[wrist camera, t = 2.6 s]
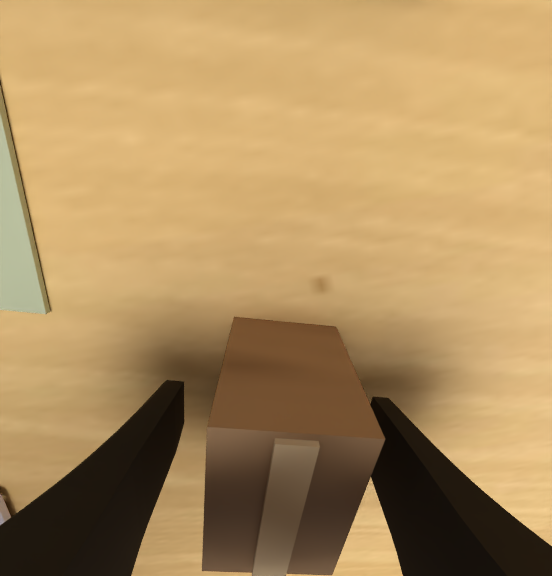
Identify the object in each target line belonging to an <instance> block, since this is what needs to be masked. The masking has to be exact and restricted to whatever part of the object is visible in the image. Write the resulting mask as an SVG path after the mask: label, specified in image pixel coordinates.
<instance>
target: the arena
mask: <svg viewBox="0 0 552 576" xmlns="http://www.w3.org/2000/svg"><path fill="white" fill-rule="evenodd" d="M0 310H8V311H18V312H29V313H40V314H47V313H49V312H50V308H49V304H48V299H47V295H46V290H45V286H44V281H43V277H42V272H41V268H40V263H39V258H38V254H37V249H36V245H35V240H34V236H33V231H32V227H31V222H30V218H29V213H28V209H27V204H26V200H25V195H24V191H23V186H22V182H21V177H20V173H19V168H18V164H17V159H16V154H15V150H14V145H13V141H12V136H11V132H10V127H9V123H8V118H7V114H6V109H5V105H4V100H3V96H2V91H1V87H0Z"/></svg>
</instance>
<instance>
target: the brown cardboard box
mask: <svg viewBox="0 0 552 576" xmlns="http://www.w3.org/2000/svg"><path fill="white" fill-rule="evenodd" d="M384 441H385V437H384V435H383V433H382V430H381V428H380V426H379V424H378V421H377V419H376V417H375V415H374V412H373V410H372V408H371V405H370V403H369V401H368V399H367V396H366V394H365V392H364V389H363V387H362V385H361V383H360V380H359V378H358V376H357V373H356V371H355V369H354V367H353V364H352V362H351V360H350V358H349V355H348V353H347V351H346V348H345V346H344V344H343V342H342V339H341V337H340V335H339V332H338V330H337V328H336V327H333V326H322V325H312V324H302V323H291V322H281V321H271V320H260V319H250V318H240V317H234V320H233V324H232V328H231V332H230V336H229V340H228V344H227V348H226V352H225V356H224V360H223V364H222V369H221V373H220V377H219V381H218V385H217V389H216V393H215V397H214V401H213V405H212V409H211V413H210V417H209V421H208V425H207V443H206V472H205V501H204V529H203V558H202V571H219V572H250V573H252V576H286V574H311V575H332V574H333V572H334V569H335V567H336V564H337V561H338V559H339V556H340V554H341V551H342V549H343V546H344V544H345V541H346V538H347V536H348V533H349V531H350V528H351V526H352V523H353V521H354V518H355V515H356V513H357V510H358V508H359V505H360V503H361V500H362V498H363V495H364V492H365V490H366V487H367V485H368V482H369V480H370V477H371V474H372V472H373V469H374V467H375V464H376V462H377V459H378V457H379V454H380V451H381V449H382V446H383V444H384Z"/></svg>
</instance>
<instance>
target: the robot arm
mask: <svg viewBox="0 0 552 576" xmlns="http://www.w3.org/2000/svg"><path fill="white" fill-rule="evenodd" d="M370 405H371V408H372V410H373V412H374V415H375V417H376V419H377V421H378V424H379V426H380V428H381V430H382V433H383V435H384V437H385V441H384V444H383V446H382V449H381V451H380V454H379V457H378V459H377V462H376V464H375V467H374V469H373V472H372V474H371V478H372V481H373V484H374V487H375V490H376V493H377V495H378V498H379V501H380V504H381V507H382V510H383V513H384V515H385V518H386V521H387V524H388V527H389V530H390V533H391V535H392V539H393V542H394V545H395V548H396V551H397V555H398V559H399V562H400V566H401V570H402V574H403V576H552V546H551V545H549V544H548V543H547V542H545V541H544V540H543V539H542V538H540V537H539V536H538V535H536V534H535V533H534V532H532V531H531V530H530V529H529V528H527V527H526V526H525V525H523V524H522V523H521V522H520V521H518V520H517V519H516V518H515V517H513V516H512V515H511V514H510V513H508V512H507V511H506V510H505V509H504V508H502V507H501V506H500V505H499V504H498V503H497V502H495V501H494V500H493V499H492V498H491V497H489V496H488V495H487V494H486V493H485V492H484V491H482V490H481V489H480V488H479V487H478V486H477V485H476V484H475V483H473V482H472V481H471V480H470V479H469V478H468V477H467V476H466V475H465V474H464V473H463V472H461V471H460V470H459V469H458V468H457V467H456V466H455V465H454V464H453V463H452V462H451V461H450V460H449V459H448V458H447V457H446V456H445V455H444V454H443V453H442V452H440V451H439V450H438V449H437V448H436V447H435V446H434V445H433V444H432V443H431V442H430V440H429V439H428V438H427V437H426V436H425V435H424V434H423V433H422V432H421V431H420V430H419V429H418V428H417V427H416V426H415V425H414V424H413V423H412V422H411V421H410V420H409V419H408V418H407V417H406V416H405V415H404V414H403V413H402V412H401V410H400V409H399V408H398V407H397V406H396V405H395V404H394V403H393V402H392V401H391V400H390V399H389V398H381V397H373V398H372V401H371V404H370ZM183 425H184V382H182V381H169V380H167V381H165V382H164V383H163V384H162V385H161V386H160V388H159V389H158V390H157V391H156V392H155V393H154V394H153V395H152V396H151V397H150V398H149V399H148V400H147V402H146V403H145V404H144V405H143V406H142V407H141V408H140V409H139V410H138V411H137V412H136V413H135V414H134V415H133V416H132V417H131V418H130V419H129V420H128V421H127V422H126V423H125V424H124V425H123V426H122V427H121V428H120V429H119V430H118V431H116V432H115V433H114V434H113V435H112V436H111V437H110V438H109V439H108V440H107V441H106V442H104V443H103V444H102V445H101V446H100V447H99V448H98V449H97V450H96V451H95V452H93V453H92V454H91V455H90V456H89V457H88V458H87V459H85V460H84V461H83V462H82V463H81V464H79V465H78V466H77V467H76V468H75V469H73V470H72V471H71V472H70V473H69V474H67V475H66V476H65V477H64V478H62V479H61V480H60V481H59V482H57V483H56V484H55V485H54V486H52V487H51V488H50V489H48V490H47V491H46V492H44V493H43V494H42V495H40V496H39V497H38V498H37V499H35V500H34V501H33V502H31V503H30V504H29V505H27V506H26V507H25V508H23V509H22V510H21V511H19V512H18V513H16V514H15V515H14V516H12V517H11V516H10V513H9V511H8V509H7V506H6V504H5V501H4V499H3V497H2V495H1V494H0V576H131V574H132V571H133V568H134V564H135V561H136V558H137V555H138V551H139V548H140V545H141V542H142V539H143V536H144V533H145V531H146V528H147V525H148V522H149V520H150V517H151V515H152V512H153V510H154V507H155V504H156V502H157V499H158V497H159V494H160V492H161V489H162V487H163V484H164V481H165V479H166V476H167V474H168V471H169V469H170V466H171V463H172V461H173V458H174V456H175V453H176V450H177V447H178V443H179V440H180V436H181V432H182V429H183Z"/></svg>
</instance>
